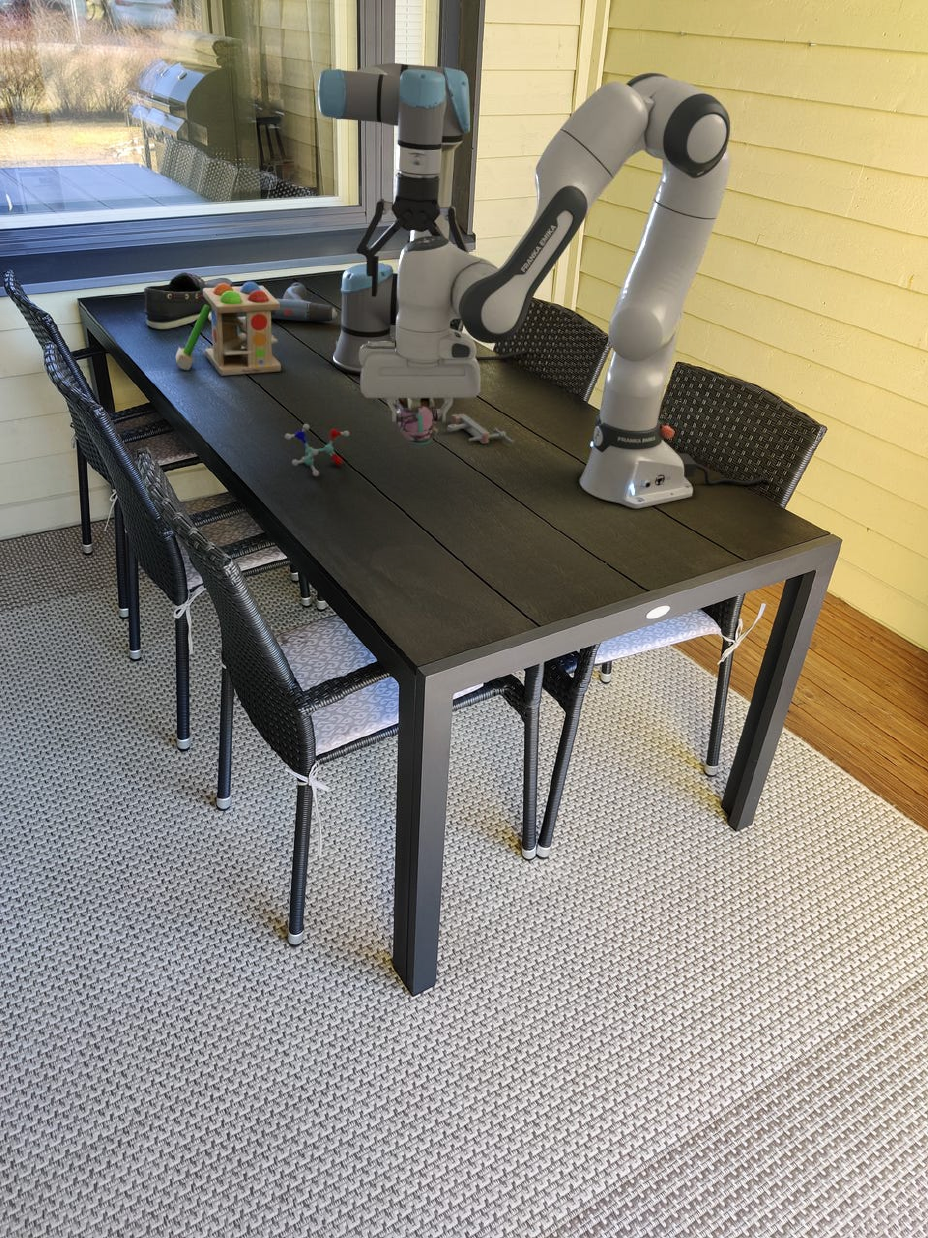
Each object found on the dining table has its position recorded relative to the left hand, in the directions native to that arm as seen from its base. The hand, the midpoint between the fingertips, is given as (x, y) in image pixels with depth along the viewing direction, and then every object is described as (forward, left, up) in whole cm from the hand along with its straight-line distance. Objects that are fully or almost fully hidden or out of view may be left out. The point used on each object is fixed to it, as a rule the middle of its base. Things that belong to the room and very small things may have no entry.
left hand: (411, 298), depth 180 cm
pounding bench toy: (+4, -61, -31) cm, 68 cm away
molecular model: (+18, -6, -31) cm, 37 cm away
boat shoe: (-9, -98, -31) cm, 103 cm away
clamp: (-19, +1, -31) cm, 37 cm away
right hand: (+14, +19, -14) cm, 27 cm away
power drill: (-35, -84, -31) cm, 96 cm away
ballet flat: (+9, +13, -17) cm, 23 cm away
